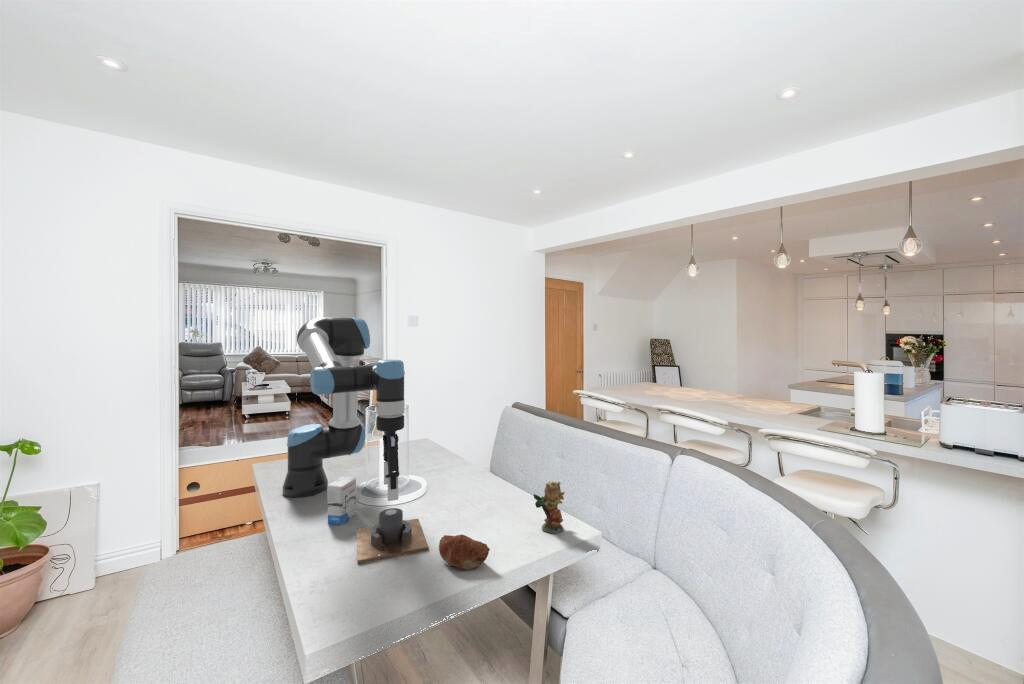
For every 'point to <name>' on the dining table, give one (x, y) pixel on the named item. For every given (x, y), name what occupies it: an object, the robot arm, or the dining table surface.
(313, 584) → the dining table surface
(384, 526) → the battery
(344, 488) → the ink box
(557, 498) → the figurine
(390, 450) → the robot arm
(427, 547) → the brown cardboard plate
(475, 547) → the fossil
